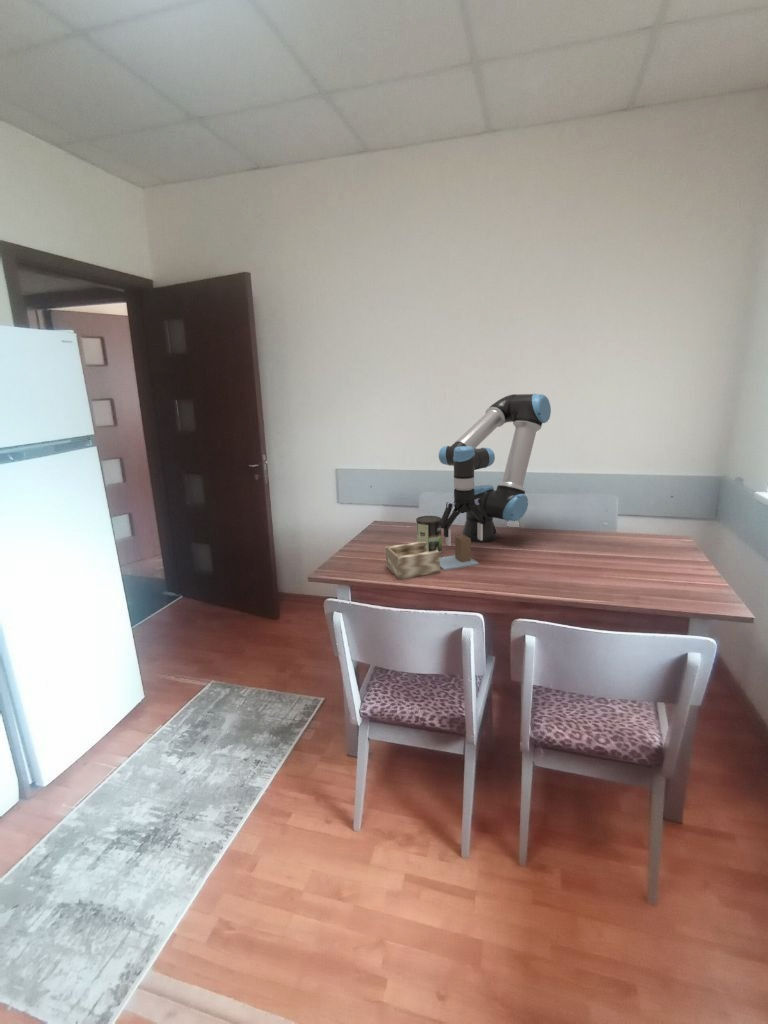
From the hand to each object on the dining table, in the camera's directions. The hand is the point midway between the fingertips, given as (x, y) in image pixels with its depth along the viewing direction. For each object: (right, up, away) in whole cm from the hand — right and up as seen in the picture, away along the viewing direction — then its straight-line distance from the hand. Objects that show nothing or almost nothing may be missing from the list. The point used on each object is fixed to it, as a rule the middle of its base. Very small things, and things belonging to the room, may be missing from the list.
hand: (464, 542), depth 185 cm
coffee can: (-12, -5, +14) cm, 19 cm away
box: (-20, -10, -5) cm, 23 cm away
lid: (-4, -8, +1) cm, 9 cm away
